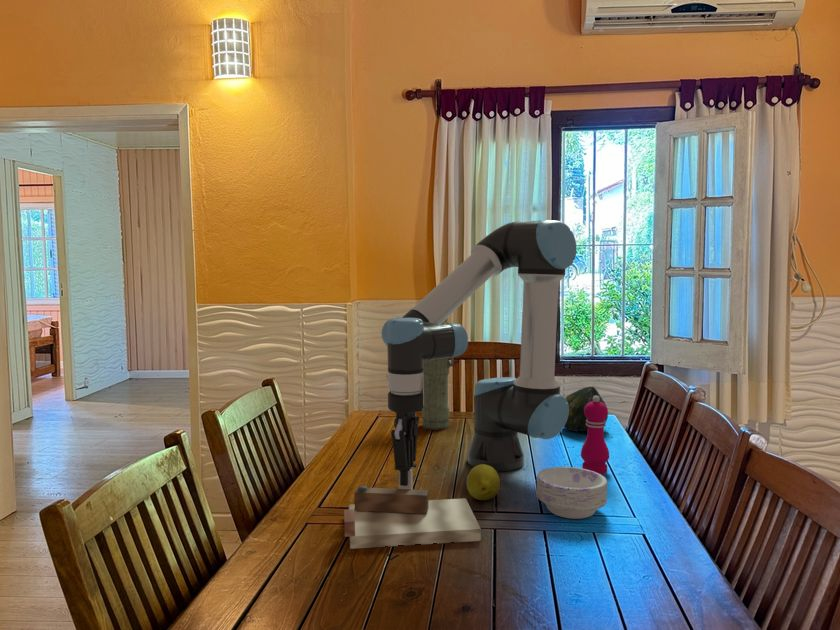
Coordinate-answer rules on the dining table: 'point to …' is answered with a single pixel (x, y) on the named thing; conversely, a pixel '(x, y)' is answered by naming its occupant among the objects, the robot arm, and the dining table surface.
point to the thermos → (436, 393)
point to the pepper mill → (595, 437)
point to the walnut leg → (391, 500)
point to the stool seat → (412, 525)
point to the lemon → (483, 482)
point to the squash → (580, 408)
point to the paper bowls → (571, 491)
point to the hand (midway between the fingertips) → (405, 497)
